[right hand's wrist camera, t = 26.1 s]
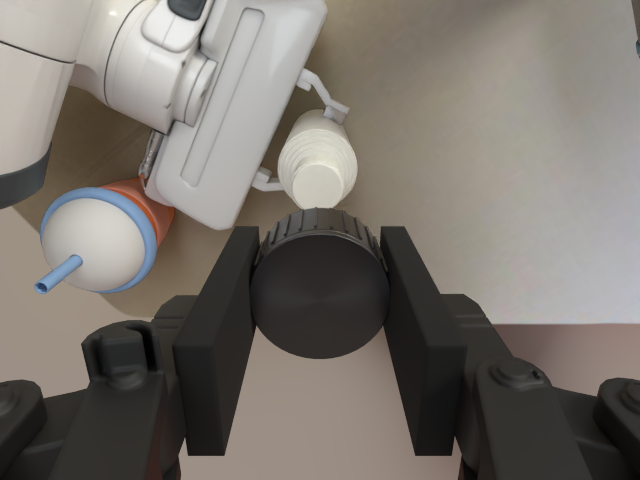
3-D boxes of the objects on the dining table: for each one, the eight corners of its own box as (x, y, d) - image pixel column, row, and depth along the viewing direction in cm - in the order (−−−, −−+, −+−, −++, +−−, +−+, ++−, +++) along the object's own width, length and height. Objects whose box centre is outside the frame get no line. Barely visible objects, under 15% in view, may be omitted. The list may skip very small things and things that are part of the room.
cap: (231, 258, 14) (215, 293, 12) (327, 178, 13) (328, 200, 11) (313, 339, 16) (312, 384, 13) (407, 271, 15) (422, 307, 12)
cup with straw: (126, 257, 47) (19, 362, 30) (83, 179, 44) (-63, 247, 27) (204, 231, 46) (137, 325, 29) (165, 149, 43) (66, 201, 26)
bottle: (304, 99, 41) (293, 123, 23) (354, 124, 42) (381, 166, 24) (282, 150, 43) (255, 210, 25) (330, 172, 44) (338, 247, 25)
